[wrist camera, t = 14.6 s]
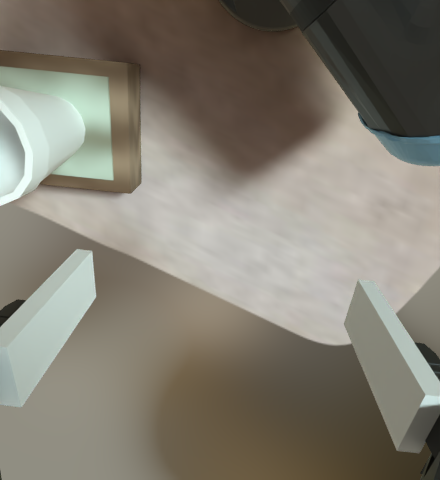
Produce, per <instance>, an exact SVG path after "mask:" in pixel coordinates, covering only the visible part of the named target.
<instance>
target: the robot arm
mask: <svg viewBox="0 0 440 480" xmlns="http://www.w3.org/2000/svg"><path fill="white" fill-rule="evenodd" d="M219 1H220V3H221V4H222V6H223V7H224V8H225V9H226V10H227V11H228V12H229V13H230V14H231V15H232V16H233V17H234V18H236V19H237V20H238V21H240V22H241V23H243V24H245V25H247V26H249V27H252V28H255V29H258V30H263V31H283V30H288V29H291V28H294V27H297V26H298V27H299V28H300V30H301V31H302V33H303V35H304V36H305V38H306V39H307V40H308V42H309V43H310V45H311V46H312V48H313V49H314V50H315V52H316V53H317V55H318V56H319V57H320V59H321V60H322V62H323V63H324V64H325V66H326V67H327V69H328V70H329V71H330V73H331V74H332V76H333V77H334V78H335V80H336V81H337V83H338V84H339V85H340V87H341V88H342V90H343V91H344V92H345V94H346V95H347V97H348V98H349V99H350V101H351V102H352V104H353V105H354V106H355V108H356V109H357V111H358V116H359V119H360V121H361V122H362V124H363V125H364V127H365V128H366V129H368V130H369V131H370V132H371V133H373V134H375V136H376V137H377V138H378V139H379V141H380V142H381V143H382V145H383V146H384V147H385V148H386V149H387V151H388V152H389V153H390V154H392V155H393V156H395V157H397V158H398V159H400V160H402V161H404V162H407V163H411V164H415V165H422V166H440V0H219ZM95 298H96V290H95V279H94V267H93V255H92V251H88V250H79V249H77V250H76V251H75V252H74V253H73V254H72V255H71V256H70V257H69V258H68V259H67V260H66V261H65V262H64V263H63V264H62V265H61V266H60V267H59V268H58V269H57V270H56V271H55V272H54V273H53V274H52V275H51V276H50V277H49V278H48V279H47V280H46V281H45V282H44V283H43V284H42V285H41V286H40V287H39V288H38V289H37V290H36V292H34V293H33V294H32V295H31V296H30V297H29V298H28V299H27V300H26V301H25V300H16V301H14V302H12V303H10V304H8V305H7V306H5V307H4V308H3V309H2V310H0V405H7V406H15V407H22V406H23V404H24V403H25V401H26V400H27V398H28V397H29V395H30V394H31V392H32V391H33V389H34V388H35V386H36V385H37V383H38V382H39V381H40V379H41V378H42V376H43V375H44V373H45V372H46V370H47V369H48V367H49V366H50V364H51V363H52V361H53V360H54V358H55V357H56V355H57V354H58V352H59V351H60V350H61V348H62V346H63V345H64V344H65V342H66V341H67V339H68V337H69V336H70V334H71V333H72V332H73V330H74V329H75V327H76V326H77V324H78V323H79V321H80V320H81V318H82V317H83V316H84V314H85V312H86V311H87V310H88V308H89V307H90V305H91V304H92V302H93V301H94V299H95ZM344 325H345V328H346V330H347V333H348V335H349V337H350V340H351V342H352V344H353V347H354V349H355V351H356V354H357V356H358V359H359V361H360V363H361V366H362V368H363V371H364V373H365V375H366V378H367V380H368V383H369V385H370V387H371V390H372V392H373V395H374V397H375V399H376V402H377V404H378V407H379V409H380V411H381V413H382V416H383V418H384V420H385V423H386V426H387V428H388V430H389V433H390V435H391V438H392V440H393V442H394V444H395V447H396V449H397V451H405V452H413V453H420V451H421V449H422V448H423V446H424V444H425V442H426V443H427V445H428V447H429V449H430V451H431V453H432V454H431V456H430V457H429V459H428V461H427V463H426V464H425V466H424V468H423V469H422V471H421V474H422V477H421V480H440V359H439V358H438V356H437V355H436V353H434V352H433V351H432V350H431V349H430V348H428V347H427V346H426V345H425V344H422V343H414V342H413V340H412V339H411V337H410V336H409V334H408V333H407V331H406V329H405V328H404V326H403V325H402V323H401V322H400V320H399V319H398V317H397V316H396V314H395V313H394V311H393V310H392V308H391V307H390V305H389V304H388V302H387V301H386V299H385V298H384V296H383V294H382V293H381V291H380V290H379V288H378V287H377V285H376V284H375V282H374V281H366V280H358V282H357V285H356V288H355V291H354V294H353V297H352V300H351V304H350V307H349V310H348V313H347V316H346V319H345V322H344ZM0 480H2V479H1V473H0Z"/></svg>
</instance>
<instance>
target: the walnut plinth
mask: <svg viewBox="0 0 440 480" xmlns="http://www.w3.org/2000/svg"><path fill="white" fill-rule="evenodd" d="M0 86H4V87H10V88H15V89H20V90H26V91H31V92H36V93H42V94H47V95H53V96H57V97H61V98H62V99H64V100H66V101H68V102H69V103H71V104H72V105H73V106H74V107H75V108H76V110H77V111H78V112H79V113H80V115H81V116H82V120H83V123H84V126H85V137H84V142H83V144H82V145H81V146H80V148H79V149H78V151H76V153H74V154H73V155H72V156H71V157H70V158H69V159H67V160H66V161H65V162H64V163H63V164H61V165H60V166H59V167H58V168H57V169H55V170H54V171H53V172H52V173H51V174H49V175H48V176H47V177H46V178H45V179H43V180H42V181H41V182H40V184H44V185H53V186H63V187H72V188H82V189H91V190H101V191H110V192H120V193H130V194H131V193H132V192H133V191H134V190H135V189H136V188H137V187H138V186H139V185H140V184H141V121H140V65H138V64H132V63H125V62H115V61H105V60H95V59H84V58H74V57H64V56H54V55H44V54H34V53H24V52H14V51H4V50H0Z"/></svg>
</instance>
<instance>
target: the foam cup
mask: <svg viewBox="0 0 440 480" xmlns="http://www.w3.org/2000/svg"><path fill="white" fill-rule="evenodd" d="M84 137H85V126H84V123H83V120H82V116H81V115H80V113H79V112H78V111H77V110H76V108H75V107H74V106H73V105H72V104H71V103H69V102H68V101H66V100H64V99H62V98H61V97H57V96H53V95H47V94H42V93H36V92H31V91H26V90H20V89H15V88H10V87H4V86H0V206H1V205H4V204H6V203H8V202H11V201H13V200H15V199H18V198H20V197H22V196H24V195H26V194H28V193H29V192H31V191H33V190H35V189H36V188H37V187H38V185H39V184H40V182H41V181H42V180H43V179H45V178H46V177H47V176H48V175H49V174H51V173H52V172H53V171H54V170H55V169H57V168H58V167H59V166H60V165H61V164H63V163H64V162H65V161H66V160H67V159H69V158H70V157H71V156H72V155H73V154H74V153H76V151H78V149H79V148H80V146H81V145H82V144H83V142H84Z"/></svg>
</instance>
